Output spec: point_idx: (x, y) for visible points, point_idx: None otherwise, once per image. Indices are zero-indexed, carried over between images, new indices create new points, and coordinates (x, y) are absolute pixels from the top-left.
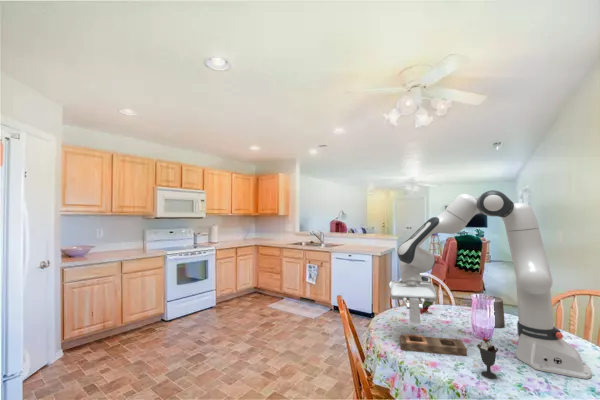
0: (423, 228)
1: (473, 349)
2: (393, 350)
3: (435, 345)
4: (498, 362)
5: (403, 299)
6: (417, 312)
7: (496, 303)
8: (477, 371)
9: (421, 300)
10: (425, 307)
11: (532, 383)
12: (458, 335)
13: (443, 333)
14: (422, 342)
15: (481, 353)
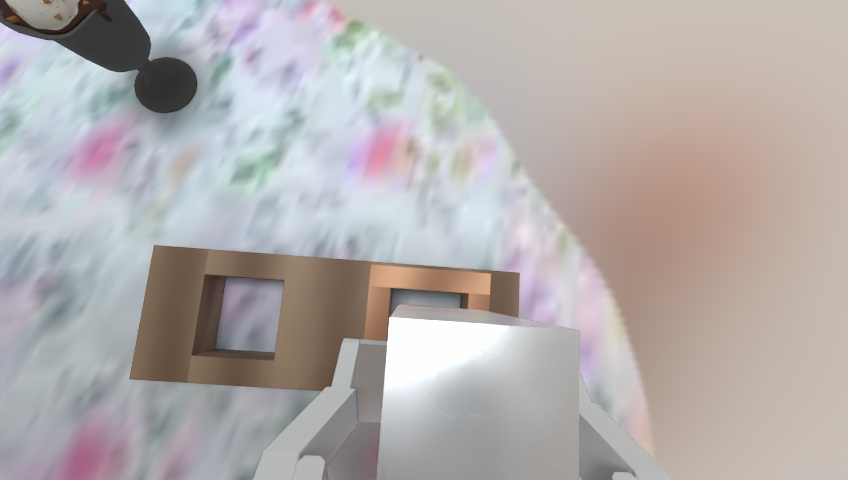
0: None
1: (103, 338)
2: (550, 267)
3: (325, 267)
4: (50, 204)
5: (669, 475)
6: (425, 309)
7: None
8: (201, 111)
9: (320, 456)
10: None
11: (15, 44)
12: None
13: None
14: (396, 279)
15: (122, 6)
